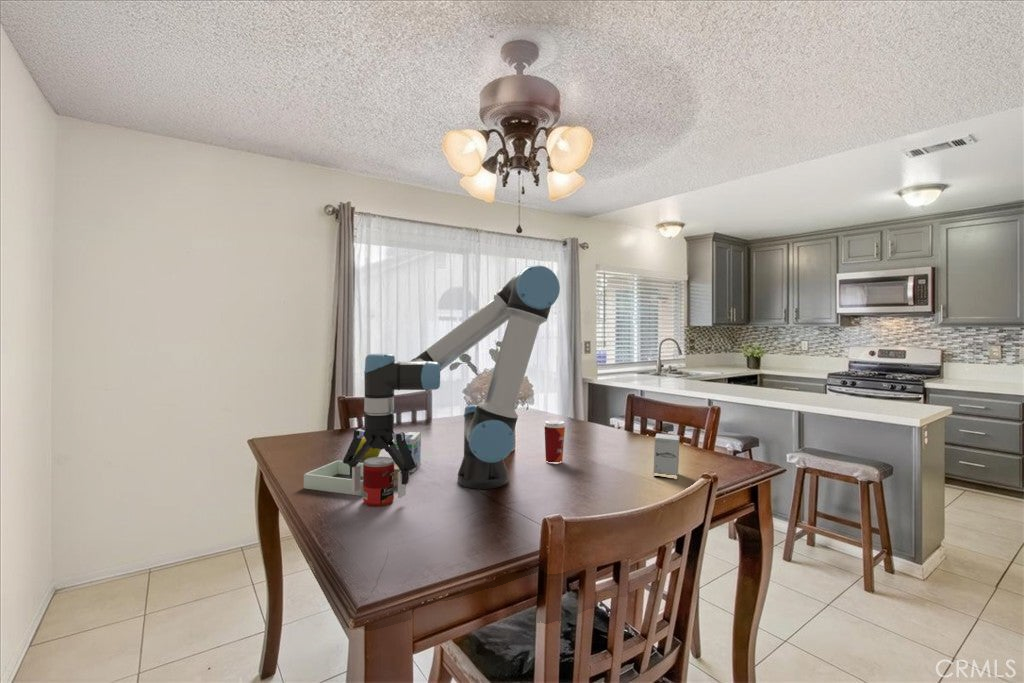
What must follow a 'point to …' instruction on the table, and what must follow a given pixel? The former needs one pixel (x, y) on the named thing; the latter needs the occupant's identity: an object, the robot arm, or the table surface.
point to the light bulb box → (413, 447)
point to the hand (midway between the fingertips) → (378, 493)
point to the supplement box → (666, 454)
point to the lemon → (370, 452)
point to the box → (332, 479)
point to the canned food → (378, 481)
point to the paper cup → (554, 440)
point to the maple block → (396, 474)
